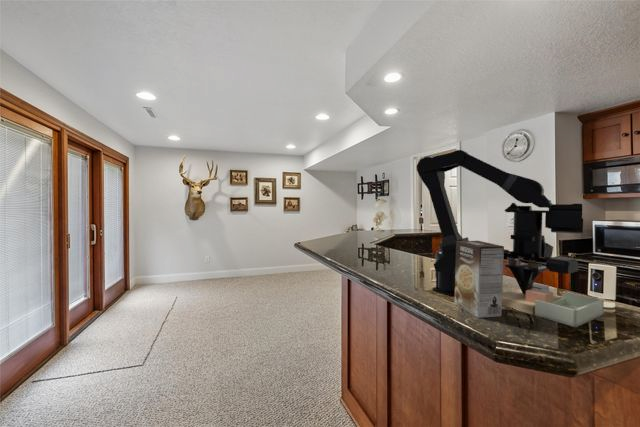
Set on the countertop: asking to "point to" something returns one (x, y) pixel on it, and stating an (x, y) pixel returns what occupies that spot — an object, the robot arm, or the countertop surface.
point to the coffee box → (479, 278)
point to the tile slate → (540, 286)
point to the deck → (520, 301)
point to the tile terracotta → (539, 295)
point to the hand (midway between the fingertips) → (525, 294)
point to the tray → (570, 309)
